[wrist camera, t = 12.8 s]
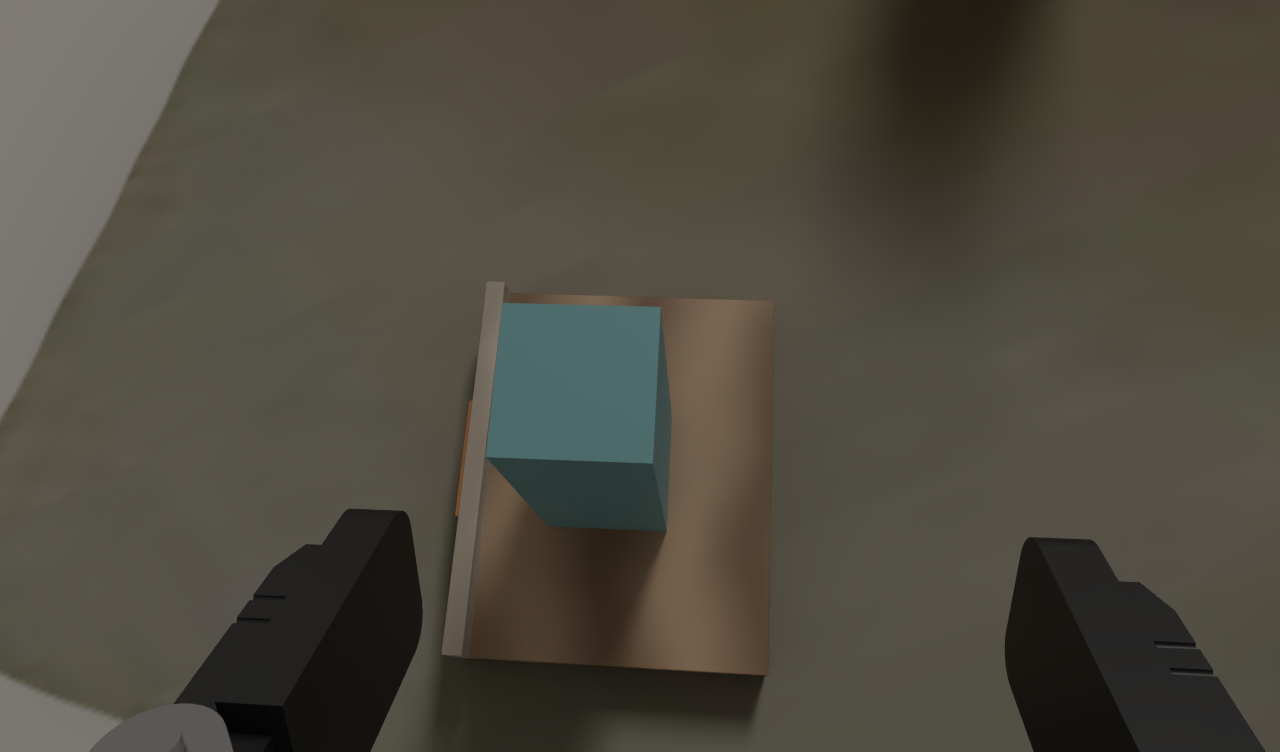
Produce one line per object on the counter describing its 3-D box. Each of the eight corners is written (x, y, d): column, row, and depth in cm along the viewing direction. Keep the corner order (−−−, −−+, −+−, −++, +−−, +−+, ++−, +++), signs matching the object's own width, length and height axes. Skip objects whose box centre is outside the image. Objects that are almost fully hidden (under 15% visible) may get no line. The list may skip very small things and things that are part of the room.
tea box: (671, 415, 41) (660, 306, 29) (666, 531, 39) (652, 463, 28) (556, 411, 41) (500, 303, 30) (546, 526, 39) (483, 457, 28)
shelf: (770, 318, 44) (776, 290, 41) (765, 676, 39) (770, 674, 36) (497, 309, 45) (482, 281, 42) (456, 657, 40) (436, 654, 37)
